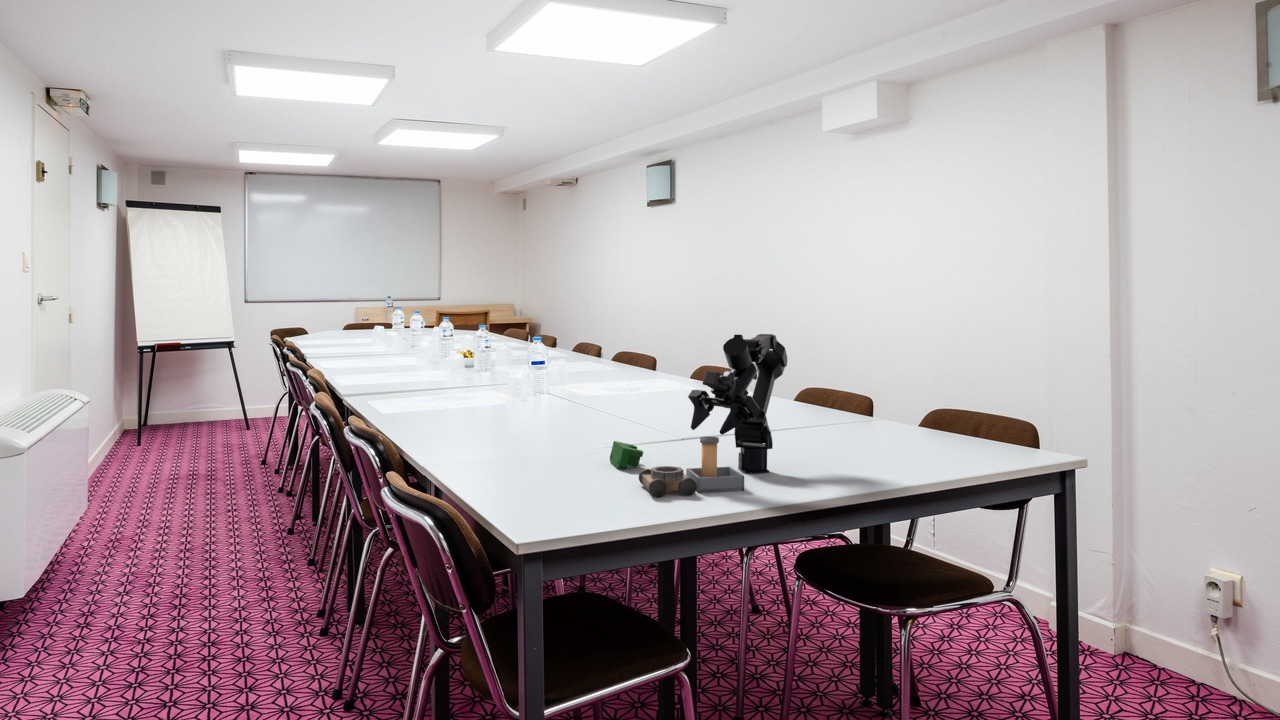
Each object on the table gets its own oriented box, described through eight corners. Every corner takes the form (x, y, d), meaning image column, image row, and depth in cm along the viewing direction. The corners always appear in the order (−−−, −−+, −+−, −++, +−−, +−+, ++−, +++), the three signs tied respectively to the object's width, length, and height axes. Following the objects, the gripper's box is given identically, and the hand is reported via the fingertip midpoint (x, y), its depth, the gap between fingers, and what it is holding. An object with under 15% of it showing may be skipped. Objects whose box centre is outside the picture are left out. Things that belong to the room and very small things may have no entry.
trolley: (683, 483, 199) (683, 463, 199) (696, 495, 187) (696, 473, 187) (638, 485, 197) (638, 464, 197) (649, 497, 185) (649, 475, 184)
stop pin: (715, 481, 198) (715, 436, 197) (720, 485, 193) (721, 439, 192) (697, 482, 197) (697, 436, 196) (702, 486, 192) (703, 440, 192)
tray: (729, 480, 202) (729, 466, 202) (744, 490, 192) (744, 476, 191) (686, 482, 200) (686, 468, 200) (698, 493, 189) (698, 478, 189)
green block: (634, 484, 218) (645, 456, 215) (613, 480, 217) (623, 451, 213) (629, 459, 229) (639, 431, 225) (608, 454, 227) (618, 427, 224)
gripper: (693, 356, 203) (661, 405, 196) (752, 361, 189) (719, 413, 182) (715, 386, 208) (684, 434, 202) (773, 392, 195) (742, 444, 188)
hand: (706, 431), depth 193 cm, fingers open, 9 cm apart
